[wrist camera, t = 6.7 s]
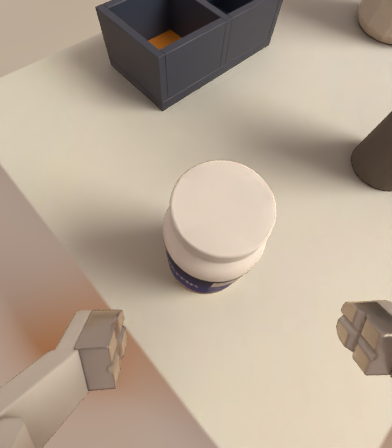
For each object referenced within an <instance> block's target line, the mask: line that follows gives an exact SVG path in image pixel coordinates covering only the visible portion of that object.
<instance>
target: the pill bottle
mask: <svg viewBox="0 0 392 448" xmlns="http://www.w3.org/2000/svg"><path fill="white" fill-rule="evenodd" d="M275 220H276V204H275V200H274V196H273V194H272V191H271V189H270V188H269V186H268V185H267V183H266V182H265V181H264V180H263V178H262V177H261V176H260V175H258V174H257V173H256V172H255V171H253V170H252V169H250V168H248V167H246V166H244V165H242V164H240V163H237V162H233V161H227V160H212V161H207V162H203V163H200V164H198V165H196V166H194V167H192V168H190V169H189V170H188V171H186V172H185V173H184V174H183V175H182V176H181V177H180V178H179V180H178V181H177V183H176V184H175V186H174V188H173V191H172V194H171V198H170V206H169V208H168V210H167V212H166V214H165V218H164V223H163V239H164V244H165V248H166V253H167V257H168V261H169V265H170V269H171V271H172V274H173V275H174V277H175V279H176V280H177V281H178V282H179V283H180V284H181V285H182V286H183V287H185V288H186V289H188V290H190V291H192V292H195V293H200V294H211V293H215V292H218V291H221V290H223V289H225V288H226V287H228V286H229V285H230V284H232V283H233V282H235V281H236V280H237V279H239V278H240V277H241V276H243V275H244V274H246V273H247V272H248V271H250V270H251V269H252V268H253V267H254V265H255V264H256V263H257V262H258V261H259V259H260V258H261V256H262V254H263V252H264V249H265V246H266V240H267V238H268V237H269V235H270V233H271V232H272V230H273V227H274V224H275Z"/></svg>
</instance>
